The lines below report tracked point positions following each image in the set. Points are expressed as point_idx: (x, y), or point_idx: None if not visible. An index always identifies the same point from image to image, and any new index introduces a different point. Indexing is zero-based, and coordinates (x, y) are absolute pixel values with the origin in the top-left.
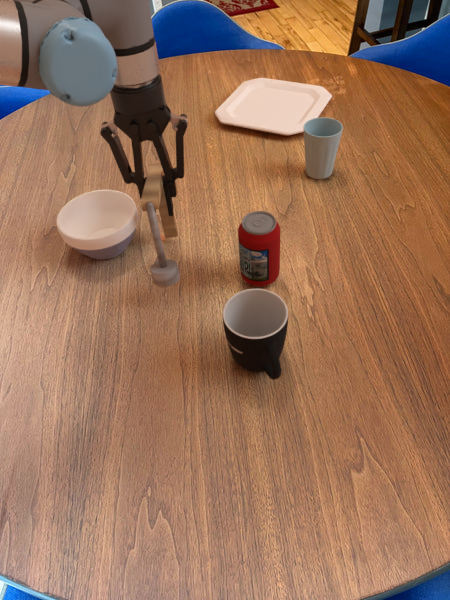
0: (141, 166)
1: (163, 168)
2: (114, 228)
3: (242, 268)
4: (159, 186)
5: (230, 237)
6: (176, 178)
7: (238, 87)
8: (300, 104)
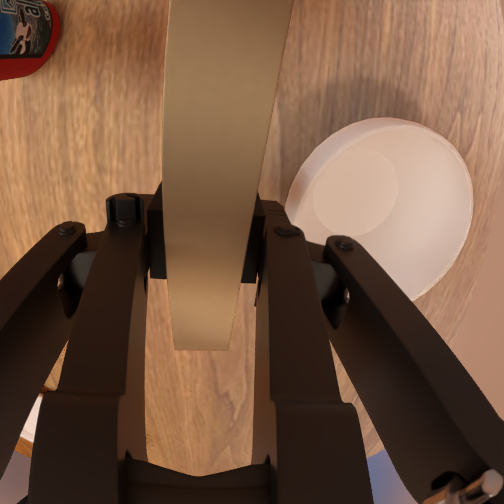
0: (271, 288)
1: (130, 262)
2: (333, 232)
3: (41, 9)
4: (163, 100)
5: (71, 158)
6: (99, 233)
7: None
8: (30, 422)
